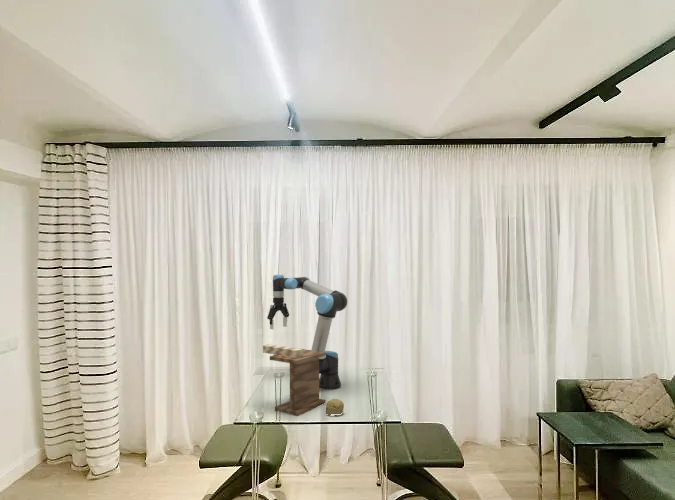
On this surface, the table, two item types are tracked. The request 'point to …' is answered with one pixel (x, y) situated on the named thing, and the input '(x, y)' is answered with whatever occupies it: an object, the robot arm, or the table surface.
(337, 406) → the rock
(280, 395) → the table surface
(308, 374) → the stand
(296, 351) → the bar
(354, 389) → the table surface
